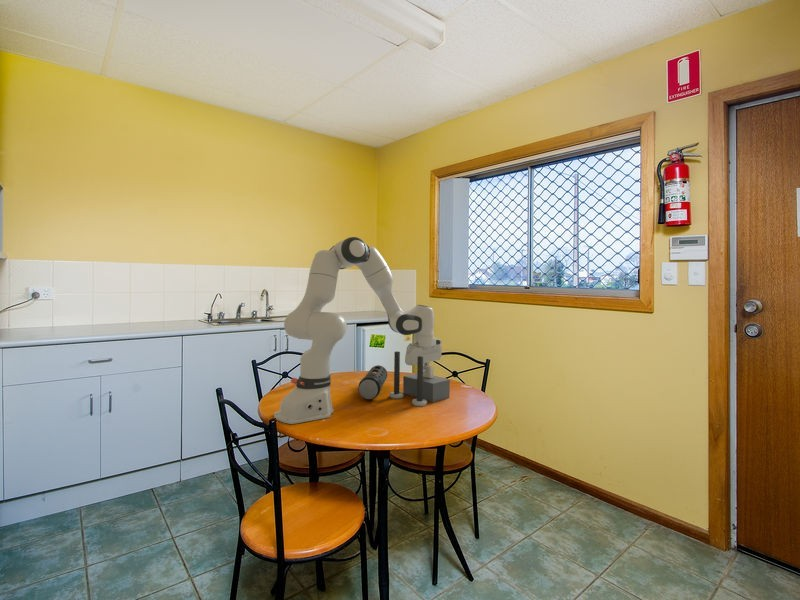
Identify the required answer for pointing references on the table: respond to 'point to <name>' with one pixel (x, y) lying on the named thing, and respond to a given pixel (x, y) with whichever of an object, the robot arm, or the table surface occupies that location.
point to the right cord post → (419, 384)
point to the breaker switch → (429, 372)
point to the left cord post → (396, 377)
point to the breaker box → (427, 387)
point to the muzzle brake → (372, 382)
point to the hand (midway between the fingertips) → (423, 372)
